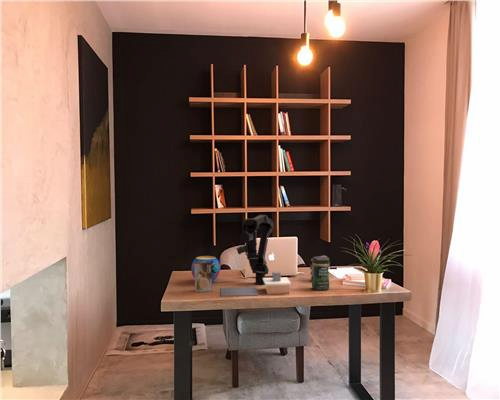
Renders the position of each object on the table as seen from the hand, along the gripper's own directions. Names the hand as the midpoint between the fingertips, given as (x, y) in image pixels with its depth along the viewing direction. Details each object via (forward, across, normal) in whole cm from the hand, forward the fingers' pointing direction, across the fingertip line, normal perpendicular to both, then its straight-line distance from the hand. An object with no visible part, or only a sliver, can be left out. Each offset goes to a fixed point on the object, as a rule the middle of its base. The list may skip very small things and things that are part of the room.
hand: (251, 268), depth 239 cm
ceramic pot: (+12, -20, -26) cm, 35 cm away
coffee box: (+12, 0, -27) cm, 30 cm away
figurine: (+12, -17, +44) cm, 48 cm away
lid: (+7, +6, +13) cm, 16 cm away
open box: (+12, +6, +14) cm, 19 cm away
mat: (+12, +6, -8) cm, 15 cm away
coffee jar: (+12, +3, +39) cm, 41 cm away
